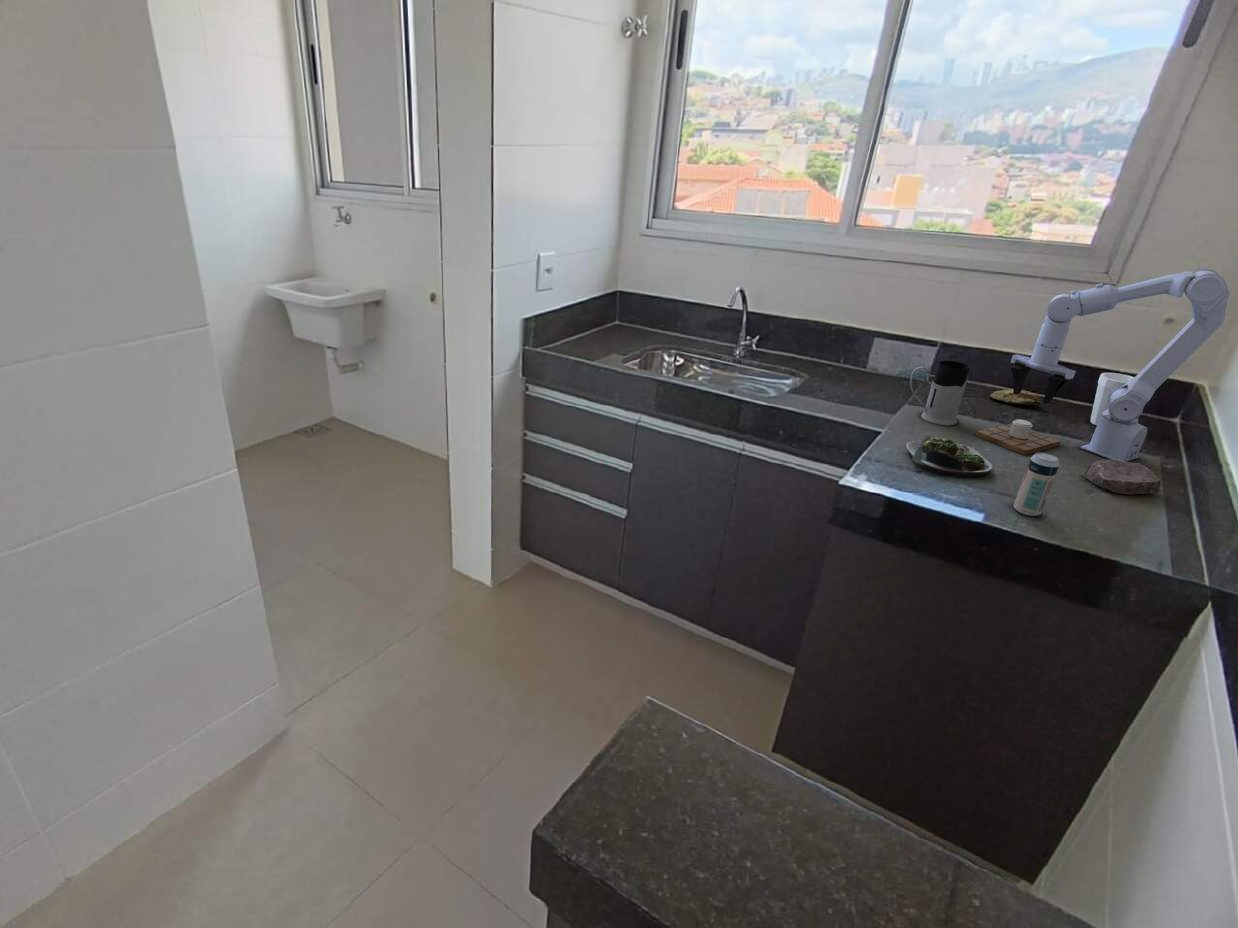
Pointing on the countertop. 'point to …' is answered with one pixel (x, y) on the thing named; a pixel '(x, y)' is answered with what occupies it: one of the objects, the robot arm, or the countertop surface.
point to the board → (1018, 440)
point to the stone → (1123, 477)
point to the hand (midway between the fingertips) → (1031, 398)
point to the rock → (1016, 397)
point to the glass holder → (944, 392)
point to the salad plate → (948, 458)
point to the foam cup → (1106, 392)
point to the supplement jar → (1036, 484)
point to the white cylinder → (1020, 429)
